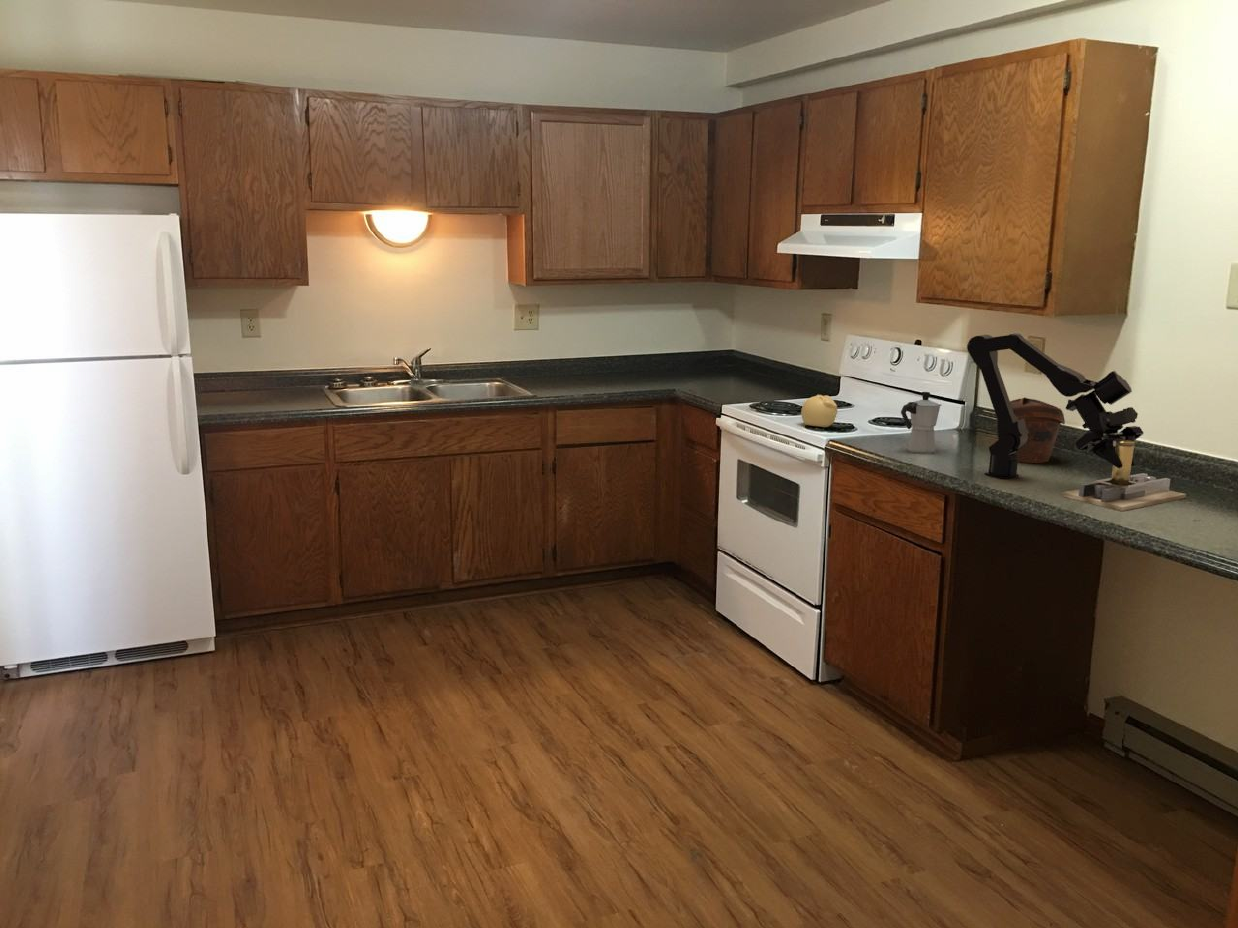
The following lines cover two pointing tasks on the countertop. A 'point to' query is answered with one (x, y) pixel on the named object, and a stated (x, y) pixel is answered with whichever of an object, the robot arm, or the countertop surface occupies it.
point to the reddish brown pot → (1037, 428)
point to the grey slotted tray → (1124, 488)
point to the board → (1129, 503)
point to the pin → (1123, 462)
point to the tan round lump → (819, 411)
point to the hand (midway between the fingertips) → (1126, 466)
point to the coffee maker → (921, 424)
